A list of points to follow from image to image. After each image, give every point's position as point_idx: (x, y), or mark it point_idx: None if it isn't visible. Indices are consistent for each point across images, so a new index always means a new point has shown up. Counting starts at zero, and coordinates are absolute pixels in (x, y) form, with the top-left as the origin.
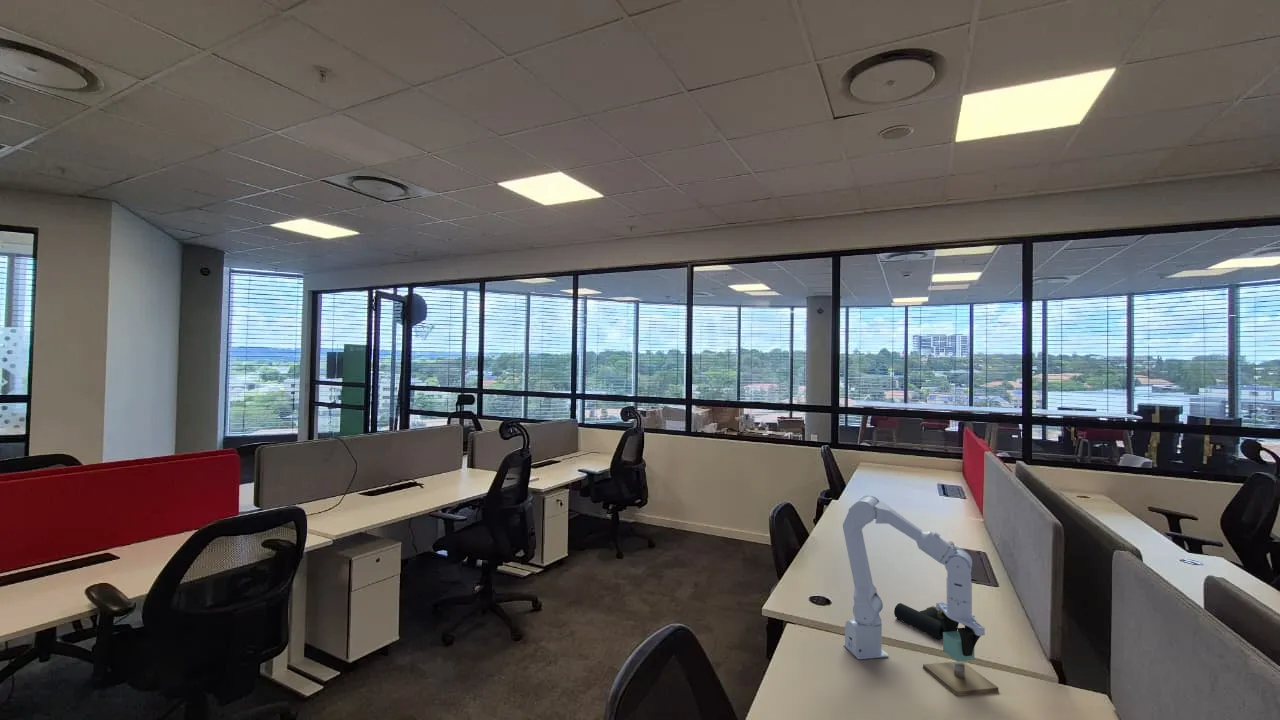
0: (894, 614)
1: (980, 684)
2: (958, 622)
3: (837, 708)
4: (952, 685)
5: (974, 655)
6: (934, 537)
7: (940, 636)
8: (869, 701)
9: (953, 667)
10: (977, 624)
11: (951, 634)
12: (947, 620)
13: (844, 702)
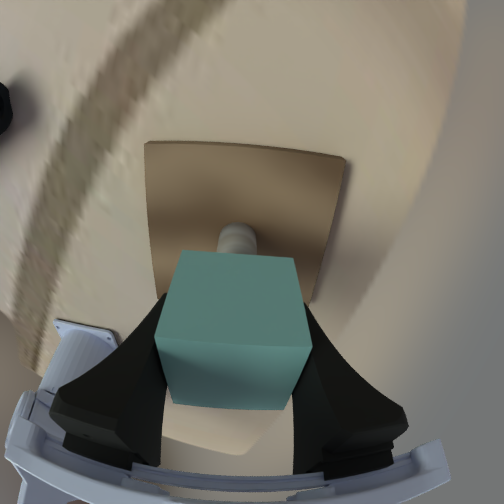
0: None
1: (308, 210)
2: (134, 395)
3: (261, 433)
4: None
5: (296, 272)
6: None
7: (3, 115)
8: (260, 413)
9: (183, 217)
10: (398, 494)
11: (202, 393)
12: (153, 451)
13: (252, 427)
